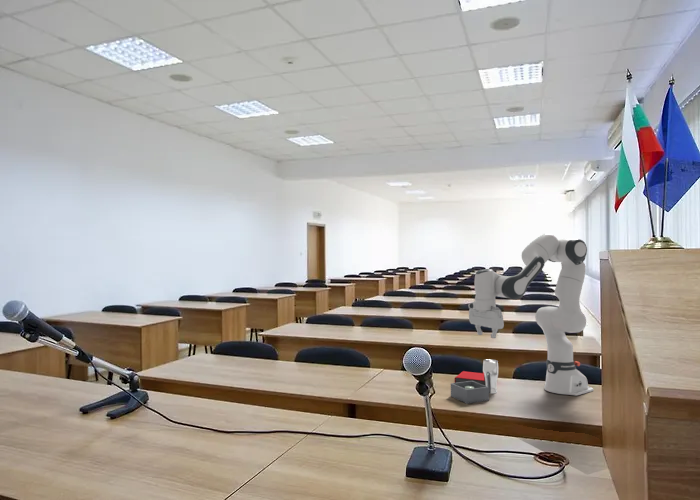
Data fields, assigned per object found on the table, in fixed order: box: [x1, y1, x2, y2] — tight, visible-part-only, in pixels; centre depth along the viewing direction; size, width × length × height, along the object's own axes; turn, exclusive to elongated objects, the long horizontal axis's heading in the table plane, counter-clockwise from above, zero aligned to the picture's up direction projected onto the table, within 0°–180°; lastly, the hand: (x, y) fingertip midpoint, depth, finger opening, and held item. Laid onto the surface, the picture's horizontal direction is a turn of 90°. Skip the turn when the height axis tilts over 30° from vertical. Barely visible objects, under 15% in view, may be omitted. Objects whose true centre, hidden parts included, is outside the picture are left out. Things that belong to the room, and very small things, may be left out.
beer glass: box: [482, 358, 499, 394], centre depth 225 cm, size 7×7×15 cm
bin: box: [450, 381, 490, 405], centre depth 216 cm, size 12×12×6 cm
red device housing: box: [454, 370, 485, 385], centre depth 239 cm, size 18×14×5 cm
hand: (486, 336), depth 213 cm, fingers open, 8 cm apart
